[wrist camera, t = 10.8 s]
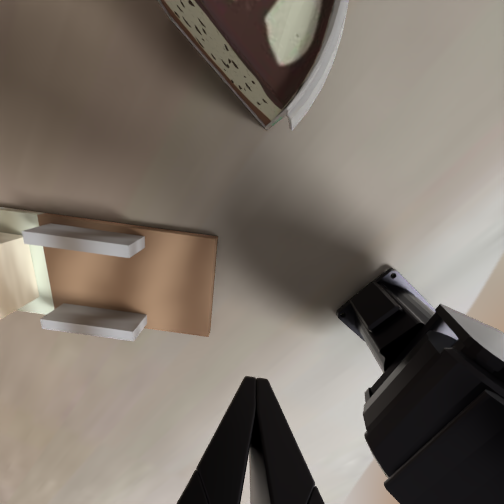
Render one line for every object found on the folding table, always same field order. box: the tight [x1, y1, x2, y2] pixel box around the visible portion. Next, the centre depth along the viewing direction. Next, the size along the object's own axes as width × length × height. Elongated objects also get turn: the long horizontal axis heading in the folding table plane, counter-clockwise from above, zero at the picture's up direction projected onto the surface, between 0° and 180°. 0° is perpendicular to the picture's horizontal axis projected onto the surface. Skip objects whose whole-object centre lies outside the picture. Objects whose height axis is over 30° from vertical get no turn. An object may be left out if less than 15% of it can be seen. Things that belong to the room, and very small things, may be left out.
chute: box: [0, 207, 218, 341], centre depth 21 cm, size 22×10×3 cm, turn 83°
